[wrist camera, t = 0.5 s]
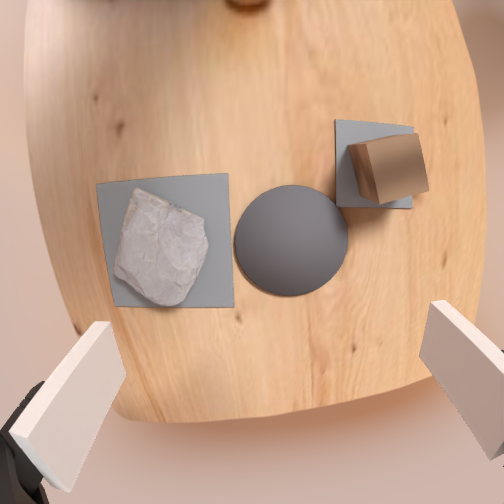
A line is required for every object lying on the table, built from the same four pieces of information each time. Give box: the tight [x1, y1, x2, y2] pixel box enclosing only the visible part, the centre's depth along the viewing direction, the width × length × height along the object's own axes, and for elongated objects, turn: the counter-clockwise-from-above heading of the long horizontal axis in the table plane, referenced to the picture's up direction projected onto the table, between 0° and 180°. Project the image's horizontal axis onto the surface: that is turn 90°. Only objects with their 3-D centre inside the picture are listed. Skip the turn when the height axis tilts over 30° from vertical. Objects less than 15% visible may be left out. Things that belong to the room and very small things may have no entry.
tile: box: [335, 120, 414, 208], centre depth 33 cm, size 10×10×1 cm
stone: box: [113, 188, 209, 306], centre depth 34 cm, size 10×12×4 cm
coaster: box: [235, 185, 348, 296], centre depth 36 cm, size 13×13×1 cm
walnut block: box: [348, 133, 429, 204], centre depth 30 cm, size 6×6×6 cm
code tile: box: [96, 173, 234, 307], centre depth 36 cm, size 16×16×1 cm
